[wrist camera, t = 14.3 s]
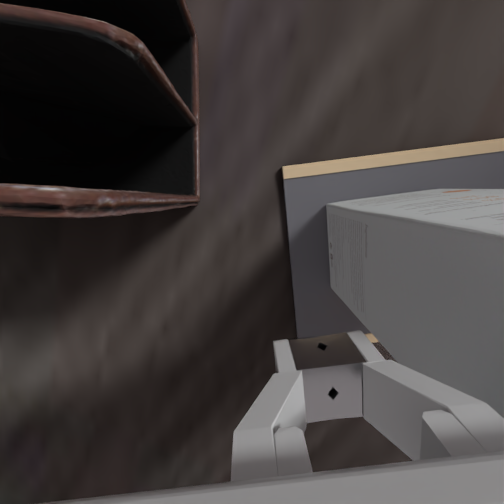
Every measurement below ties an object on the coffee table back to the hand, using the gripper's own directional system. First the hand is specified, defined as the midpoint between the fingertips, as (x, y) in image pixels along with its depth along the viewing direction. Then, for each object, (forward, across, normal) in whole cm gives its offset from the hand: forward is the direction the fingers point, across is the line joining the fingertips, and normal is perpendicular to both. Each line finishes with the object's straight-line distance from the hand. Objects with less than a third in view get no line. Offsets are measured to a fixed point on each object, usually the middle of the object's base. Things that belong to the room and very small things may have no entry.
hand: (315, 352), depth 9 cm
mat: (+10, -9, 0) cm, 14 cm away
